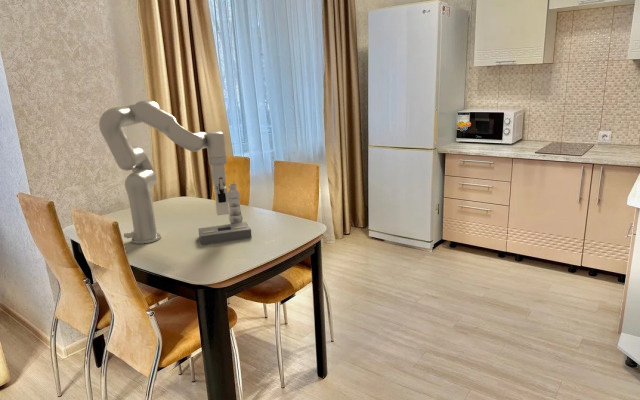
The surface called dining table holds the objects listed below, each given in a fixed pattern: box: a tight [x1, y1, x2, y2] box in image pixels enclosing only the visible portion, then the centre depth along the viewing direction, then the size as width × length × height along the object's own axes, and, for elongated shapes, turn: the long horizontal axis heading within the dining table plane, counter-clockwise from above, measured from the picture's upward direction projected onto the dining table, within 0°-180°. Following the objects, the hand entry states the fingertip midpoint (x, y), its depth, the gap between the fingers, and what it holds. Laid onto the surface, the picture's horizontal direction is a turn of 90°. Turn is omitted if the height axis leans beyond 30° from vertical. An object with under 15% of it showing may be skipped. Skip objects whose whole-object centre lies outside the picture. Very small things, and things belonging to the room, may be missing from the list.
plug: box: [213, 185, 229, 216], centre depth 197 cm, size 5×4×16 cm
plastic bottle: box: [227, 183, 244, 224], centre depth 218 cm, size 6×7×20 cm
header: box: [198, 221, 253, 246], centre depth 201 cm, size 22×12×4 cm, turn 110°
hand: (221, 200), depth 197 cm, fingers open, 4 cm apart
